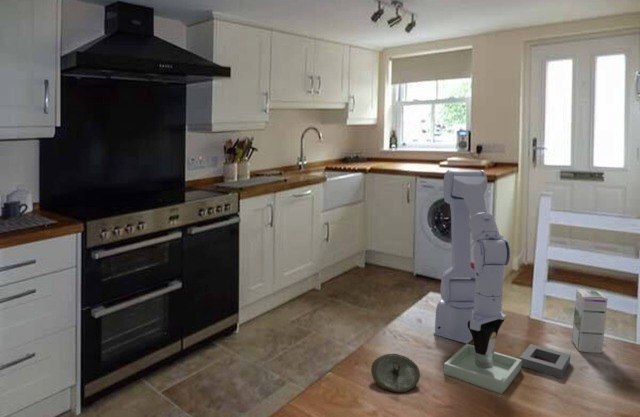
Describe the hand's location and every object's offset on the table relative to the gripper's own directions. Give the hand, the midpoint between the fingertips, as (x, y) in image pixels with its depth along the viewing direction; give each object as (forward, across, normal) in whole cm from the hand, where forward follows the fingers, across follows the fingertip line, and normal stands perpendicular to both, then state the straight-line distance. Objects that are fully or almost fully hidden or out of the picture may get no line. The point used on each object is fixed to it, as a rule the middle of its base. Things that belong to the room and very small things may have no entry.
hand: (484, 349), depth 108 cm
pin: (+3, 0, 0) cm, 3 cm away
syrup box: (+6, +29, -16) cm, 34 cm away
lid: (+6, -16, +14) cm, 22 cm away
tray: (+5, 0, 0) cm, 5 cm away
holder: (+5, +13, -10) cm, 17 cm away
